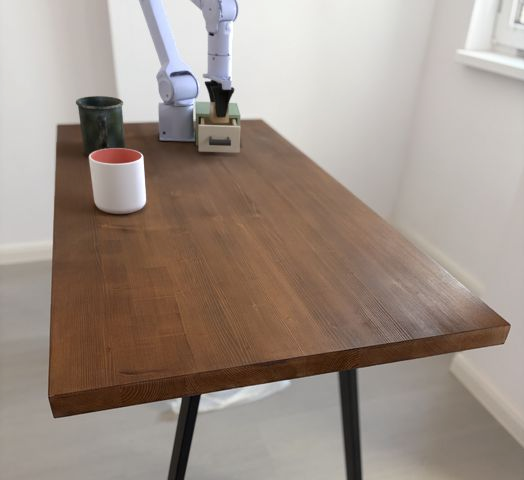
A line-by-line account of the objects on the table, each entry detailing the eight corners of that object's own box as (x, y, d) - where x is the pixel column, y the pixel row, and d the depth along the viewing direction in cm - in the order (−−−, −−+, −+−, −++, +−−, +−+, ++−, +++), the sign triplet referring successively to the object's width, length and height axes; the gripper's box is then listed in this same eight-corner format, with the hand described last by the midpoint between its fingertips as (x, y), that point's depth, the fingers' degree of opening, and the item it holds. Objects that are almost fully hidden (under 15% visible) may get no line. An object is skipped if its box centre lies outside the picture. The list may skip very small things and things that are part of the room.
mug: (126, 146, 142) (121, 96, 135) (130, 164, 131) (125, 110, 123) (82, 146, 139) (75, 95, 132) (82, 165, 128) (75, 110, 121)
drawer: (240, 158, 136) (241, 132, 133) (198, 157, 135) (198, 130, 131) (236, 139, 150) (237, 114, 146) (198, 137, 149) (197, 113, 145)
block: (213, 122, 137) (213, 105, 134) (209, 118, 140) (209, 102, 137) (228, 122, 138) (229, 105, 135) (224, 118, 141) (224, 101, 138)
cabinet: (239, 146, 147) (240, 115, 142) (196, 145, 146) (195, 113, 141) (236, 133, 158) (237, 103, 153) (195, 131, 157) (195, 101, 152)
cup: (105, 219, 104) (99, 167, 98) (88, 201, 110) (81, 151, 105) (154, 211, 109) (151, 160, 103) (134, 194, 115) (130, 145, 109)
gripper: (196, 48, 134) (196, 107, 142) (210, 59, 123) (210, 122, 131) (224, 49, 136) (223, 107, 144) (240, 59, 125) (238, 122, 133)
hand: (218, 114), depth 138 cm, fingers closed on block, 4 cm apart
